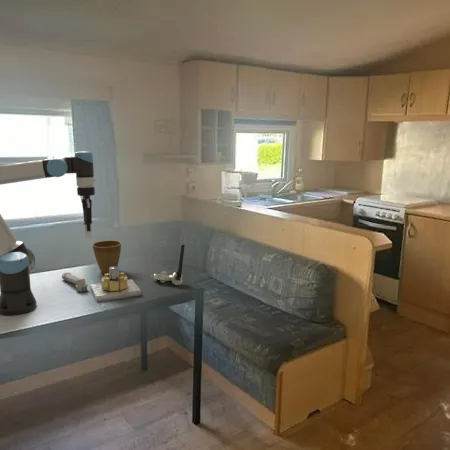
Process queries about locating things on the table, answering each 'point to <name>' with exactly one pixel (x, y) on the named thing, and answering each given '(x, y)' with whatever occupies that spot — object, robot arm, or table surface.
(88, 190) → the robot arm
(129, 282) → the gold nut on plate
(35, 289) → the table surface
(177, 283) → the butterfly valve
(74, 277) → the white handheld device
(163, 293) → the table surface
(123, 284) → the yellow valve with lever
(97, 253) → the plant pot
